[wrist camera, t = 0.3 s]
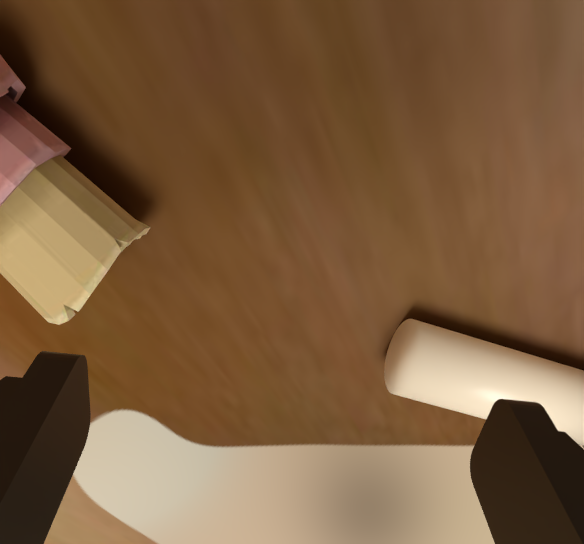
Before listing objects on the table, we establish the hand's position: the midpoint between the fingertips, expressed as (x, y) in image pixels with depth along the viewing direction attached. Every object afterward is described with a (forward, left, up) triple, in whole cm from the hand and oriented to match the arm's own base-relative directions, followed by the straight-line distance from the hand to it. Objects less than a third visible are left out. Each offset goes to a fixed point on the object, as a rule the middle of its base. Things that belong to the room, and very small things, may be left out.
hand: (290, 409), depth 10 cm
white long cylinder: (+9, +18, -17) cm, 27 cm away
